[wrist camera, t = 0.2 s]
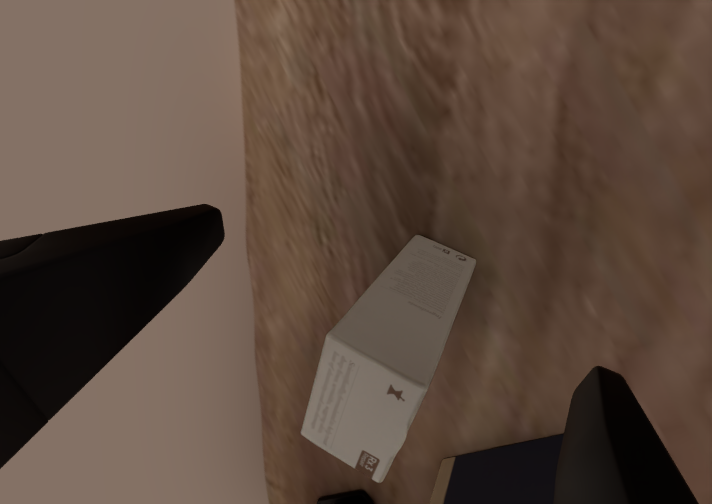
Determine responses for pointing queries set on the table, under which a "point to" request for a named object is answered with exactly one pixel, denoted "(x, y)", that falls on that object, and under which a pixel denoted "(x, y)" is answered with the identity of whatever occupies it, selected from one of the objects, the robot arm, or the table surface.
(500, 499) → the carton
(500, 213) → the table surface
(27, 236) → the robot arm
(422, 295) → the cosmetic box
